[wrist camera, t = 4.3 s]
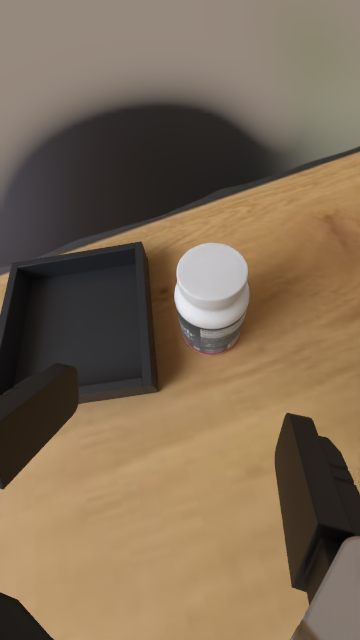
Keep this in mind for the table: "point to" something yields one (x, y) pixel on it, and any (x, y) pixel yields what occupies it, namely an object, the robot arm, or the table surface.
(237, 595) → the table surface
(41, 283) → the tray
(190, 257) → the pill bottle
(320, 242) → the table surface
